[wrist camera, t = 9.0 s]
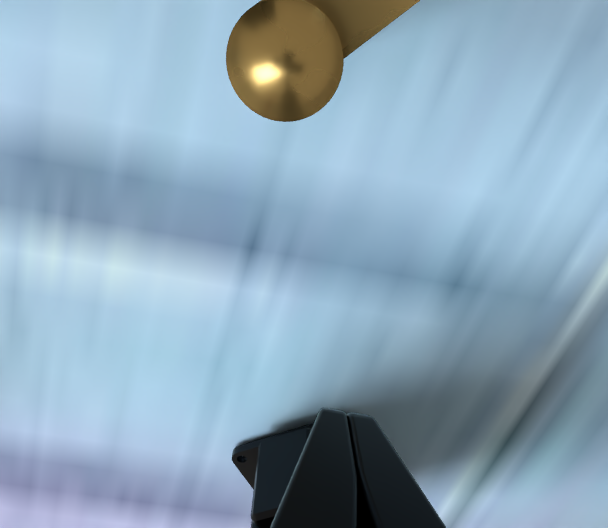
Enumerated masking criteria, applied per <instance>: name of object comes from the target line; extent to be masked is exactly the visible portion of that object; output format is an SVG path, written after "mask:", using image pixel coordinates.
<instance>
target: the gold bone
mask: <svg viewBox="0 0 608 528" xmlns="http://www.w3.org/2000/svg"><path fill="white" fill-rule="evenodd" d="M419 1H420V0H261V1H260V2H258V3H257V4H256V5H254V6H253V7H252V8H250V9H249V10H248V11H246V12H245V13H244V14H243V15H242V16H241V18H240V19H239V20H238V22H237V23H236V25H235V26H234V28H233V30H232V32H231V35H230V37H229V41H228V45H227V52H226V64H227V71H228V75H229V79H230V81H231V84H232V86H233V88H234V90H235V92H236V94H237V95H238V96H239V98H240V99H241V100H242V101H243V103H244V104H245V105H246V106H248V107H249V108H250V109H251V110H252V111H254V112H255V113H257V114H259V115H261V116H263V117H265V118H268V119H271V120H275V121H283V122H288V121H297V120H301V119H304V118H307V117H309V116H311V115H313V114H315V113H316V112H318V111H319V110H320V109H322V108H323V107H324V106H325V105H326V104H327V103H328V102H329V101H330V99H331V98H332V96H333V95H334V93H335V92H336V90H337V88H338V85H339V83H340V80H341V76H342V72H343V59H344V58H345V57H347V56H348V55H349V54H351V53H352V52H353V51H354V50H356V49H357V48H358V47H360V46H361V45H362V44H364V43H365V42H366V41H368V40H369V39H370V38H371V37H373V36H374V35H375V34H377V33H378V32H379V31H381V30H382V29H383V28H385V27H386V26H387V25H388V24H390V23H391V22H392V21H394V20H395V19H396V18H398V17H399V16H400V15H402V14H403V13H404V12H405V11H407V10H408V9H409V8H411V7H412V6H413V5H415V4H416V3H417V2H419Z"/></svg>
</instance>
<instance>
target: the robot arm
mask: <svg viewBox="0 0 608 528" xmlns="http://www.w3.org/2000/svg"><path fill="white" fill-rule="evenodd" d="M232 461H233V463H234V464H235V465H236V467H237V468H238V469H239V471H240V472H241V473H242V475H243V476H244V477H245V479H246V480H247V481H248V483H249V484H250V485H251V487H252V488H253V489H254V492H253V501H252V510H251V519H252V522H251V528H446V526H445V525H444V523H443V522H442V520H441V519H440V517H439V516H438V514H437V513H436V511H435V510H434V508H433V507H432V505H431V504H430V502H429V501H428V499H427V498H426V496H425V495H424V493H423V492H422V490H421V489H420V487H419V485H418V484H417V482H416V481H415V479H414V478H413V476H412V475H411V473H410V472H409V470H408V469H407V467H406V466H405V464H404V463H403V461H402V460H401V458H400V457H399V455H398V454H397V452H396V451H395V449H394V448H393V446H392V445H391V443H390V442H389V440H388V439H387V437H386V435H385V434H384V432H383V431H382V429H381V428H380V426H379V425H378V423H377V422H376V420H375V419H374V418H373V417H371V416H369V415H364V414H358V413H352V412H350V413H348V414H346V413H345V412H344V411H341V410H335V409H329V408H322V409H320V411H319V413H318V416H317V418H316V420H315V423H314V424H310V425H307V426H304V427H300V428H297V429H294V430H290V431H287V432H284V433H281V434H277V435H274V436H271V437H267V438H264V439H261V440H258V441H254V442H251V443H248V444H244V445H241V446H238V447H236V448H235V449H234V450H233V455H232Z"/></svg>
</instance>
